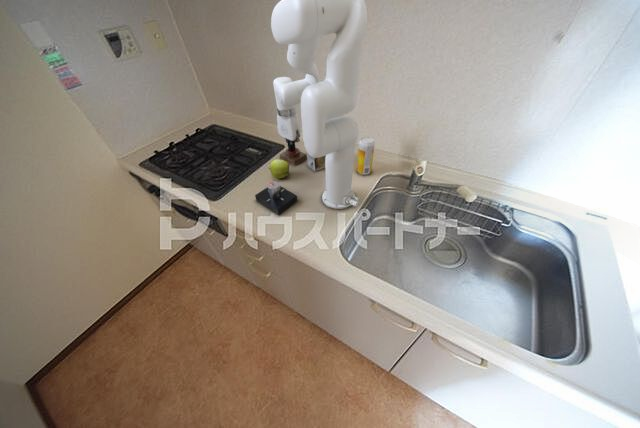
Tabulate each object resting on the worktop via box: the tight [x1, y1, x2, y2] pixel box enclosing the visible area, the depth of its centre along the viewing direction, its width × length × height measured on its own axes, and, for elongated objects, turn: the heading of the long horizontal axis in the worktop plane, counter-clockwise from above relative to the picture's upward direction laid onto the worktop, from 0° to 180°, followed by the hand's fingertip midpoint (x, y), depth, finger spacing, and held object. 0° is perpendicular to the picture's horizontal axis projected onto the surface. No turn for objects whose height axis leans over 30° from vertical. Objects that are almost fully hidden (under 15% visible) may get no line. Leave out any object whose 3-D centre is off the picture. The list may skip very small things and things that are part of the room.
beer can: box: [356, 136, 376, 176], centre depth 99 cm, size 6×6×15 cm
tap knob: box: [266, 180, 281, 199], centre depth 89 cm, size 4×4×5 cm
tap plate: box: [254, 185, 298, 216], centre depth 92 cm, size 13×10×3 cm
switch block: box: [279, 147, 307, 166], centre depth 113 cm, size 10×8×4 cm
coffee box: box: [306, 152, 326, 173], centre depth 104 cm, size 9×6×16 cm
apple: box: [268, 158, 290, 179], centre depth 102 cm, size 8×9×8 cm
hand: (292, 150), depth 112 cm, fingers closed
